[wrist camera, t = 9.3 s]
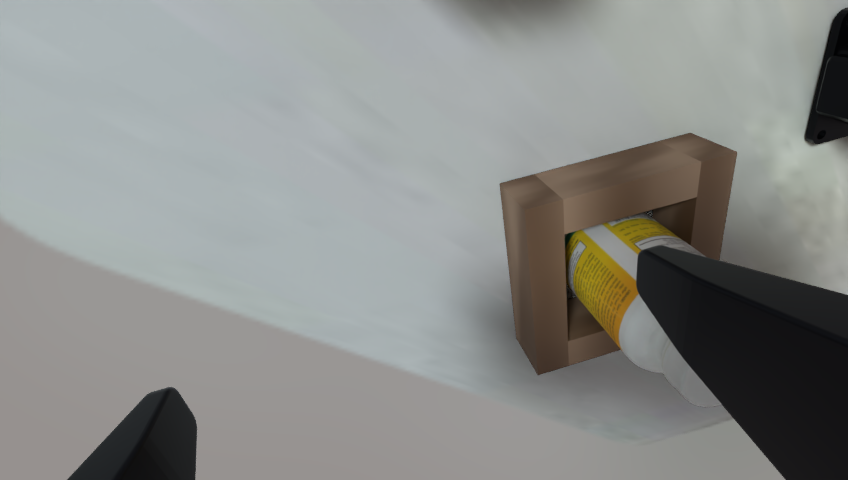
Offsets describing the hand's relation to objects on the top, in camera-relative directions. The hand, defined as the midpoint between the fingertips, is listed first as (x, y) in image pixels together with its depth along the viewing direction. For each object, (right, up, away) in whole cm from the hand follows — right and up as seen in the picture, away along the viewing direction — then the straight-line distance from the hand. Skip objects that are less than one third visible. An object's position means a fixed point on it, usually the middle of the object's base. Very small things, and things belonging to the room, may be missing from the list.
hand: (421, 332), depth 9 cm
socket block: (+9, +2, +17) cm, 19 cm away
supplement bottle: (+9, +2, +17) cm, 19 cm away
